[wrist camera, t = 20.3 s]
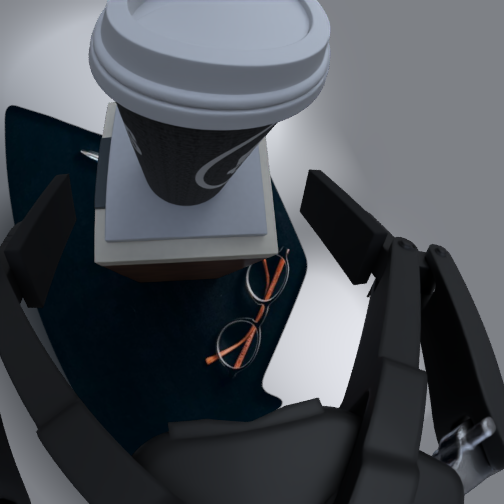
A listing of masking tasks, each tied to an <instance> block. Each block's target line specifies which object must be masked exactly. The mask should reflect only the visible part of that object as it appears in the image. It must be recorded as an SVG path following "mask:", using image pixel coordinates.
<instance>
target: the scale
mask: <svg viewBox="0 0 504 504" xmlns="http://www.w3.org/2000/svg"><path fill="white" fill-rule="evenodd" d="M94 208H95V263H97V264H99V265H101V266H111V265H133V264H154V263H174V262H194V261H214V260H233V259H252V258H269V257H271V256H273V255H276V254H278V245H277V235H276V225H275V216H274V206H273V197H272V188H271V179H270V171H269V162H268V153H267V144H266V136H265V137H264V138H263V139H262V141H261V142H260V143H259V144H258V145H257V146H256V148H255V149H254V150H253V151H252V152H251V154H250V155H249V156H248V157H247V158H246V160H245V161H244V162H243V163H242V164H241V166H240V167H239V168H238V169H237V171H236V172H235V173H234V174H233V175H232V177H231V178H230V179H229V180H228V182H227V183H226V184H225V185H224V187H223V188H222V189H221V190H220V192H219V193H218V194H217V195H215V196H214V197H213V198H211V199H210V200H208V201H206V202H204V203H201V204H198V205H193V206H179V205H174V204H171V203H168V202H166V201H164V200H163V199H161V198H160V197H158V196H157V195H156V194H155V193H154V192H153V191H152V189H151V188H150V187H149V185H148V183H147V181H146V178H145V176H144V174H143V171H142V169H141V166H140V164H139V161H138V159H137V156H136V154H135V151H134V149H133V146H132V144H131V141H130V139H129V136H128V133H127V131H126V128H125V126H124V123H123V120H122V118H121V115H120V112H119V110H118V107H117V104H116V102H113V103H112V102H111V103H108V107H107V112H106V118H105V124H104V130H103V137H102V138H101V142H100V149H99V157H98V166H97V176H96V188H95V202H94Z"/></svg>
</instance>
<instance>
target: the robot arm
mask: <svg viewBox="0 0 504 504" xmlns="http://www.w3.org/2000/svg"><path fill="white" fill-rule="evenodd" d="M300 212H301V214H302V215H303V216H304V218H305V219H306V220H307V222H308V223H309V224H310V225H311V227H312V228H313V230H314V231H315V232H316V234H317V235H318V236H319V238H320V239H321V240H322V242H323V243H324V244H325V246H326V247H327V249H328V250H329V251H330V253H331V254H332V255H333V257H334V258H335V260H336V261H337V262H338V264H339V265H340V267H341V268H342V269H343V271H344V272H345V274H346V275H347V277H348V278H349V279H350V281H351V282H352V284H353V285H358V284H365V283H367V281H368V279H369V277H370V275H371V273H372V274H373V275H374V277H375V278H376V279H375V281H374V283H373V285H372V287H371V289H370V291H369V293H368V295H367V297H369V296H370V300H369V305H368V309H367V314H366V319H365V323H364V327H363V331H362V336H361V340H360V344H359V347H358V351H357V355H356V359H355V363H354V366H353V370H352V373H351V376H350V380H349V383H348V387H347V390H346V393H345V396H344V399H343V402H342V404H341V405H340V407H339V408H335V407H328V406H322V405H321V403H320V400H319V398H315V399H311V400H307V401H303V402H299V403H295V404H291V405H286V406H284V407H282V408H280V409H277V410H275V411H273V412H271V413H269V414H267V415H265V416H263V417H261V418H259V419H256V420H254V421H252V422H234V421H222V420H212V419H203V420H193V421H183V422H169V423H168V427H169V431H168V432H165V433H162V434H160V435H158V436H156V437H154V438H152V439H150V440H149V441H147V442H146V443H144V444H143V445H142V446H141V447H139V448H138V449H137V450H136V451H135V453H134V454H133V455H132V456H131V455H130V454H128V453H127V452H126V451H125V450H124V449H123V447H122V446H121V445H120V444H119V443H118V442H117V441H116V440H115V439H114V438H113V437H112V436H111V435H110V434H109V433H108V432H107V431H106V429H105V428H104V427H103V426H102V425H101V424H100V423H99V421H98V420H97V419H96V418H95V417H94V416H93V414H92V413H91V412H90V411H89V410H88V408H87V407H86V406H85V405H84V403H83V402H82V401H81V400H80V398H79V397H78V396H77V394H76V393H75V392H74V391H73V389H72V388H71V386H70V385H69V384H68V383H67V381H66V380H65V378H64V377H63V375H62V374H61V373H60V371H59V370H58V368H57V367H56V365H55V364H54V362H53V361H52V359H51V358H50V356H49V355H48V353H47V351H46V350H45V348H44V347H43V345H42V343H41V342H40V340H39V338H38V337H37V335H36V333H35V331H34V330H33V328H32V326H31V325H30V323H29V321H28V319H27V317H26V315H25V313H24V311H23V309H22V308H21V306H20V303H21V300H22V298H24V300H25V302H26V304H27V307H28V308H43V306H44V303H45V300H46V297H47V294H48V291H49V288H50V285H51V282H52V279H53V276H54V273H55V271H56V268H57V265H58V263H59V260H60V257H61V255H62V252H63V250H64V247H65V245H66V242H67V240H68V238H69V235H70V233H71V231H72V229H73V226H74V224H75V222H76V215H75V209H74V204H73V198H72V192H71V185H70V178H69V174H63V175H56V176H55V178H54V179H53V180H52V181H51V183H50V184H49V185H48V186H47V188H46V189H45V190H44V192H43V193H42V194H41V196H40V197H39V198H38V200H37V201H36V202H35V204H34V205H33V207H32V208H31V209H30V211H29V212H28V214H27V215H26V217H25V218H24V220H23V221H22V222H19V223H17V224H16V225H15V226H14V227H13V228H12V229H11V230H10V232H9V233H8V235H7V237H6V238H5V239H4V241H3V243H2V244H1V246H0V356H1V359H2V361H3V363H4V366H5V368H6V370H7V372H8V374H9V376H10V378H11V380H12V382H13V384H14V386H15V388H16V390H17V392H18V394H19V396H20V398H21V400H22V402H23V403H24V405H25V407H26V408H27V410H28V412H29V414H30V416H31V417H32V419H33V421H34V422H35V424H36V426H37V428H38V430H37V435H38V437H39V439H40V441H41V442H42V444H43V446H44V447H45V448H46V450H47V451H48V453H49V454H50V455H51V457H52V458H53V460H54V461H55V462H56V464H57V465H58V467H59V468H60V469H61V471H62V472H63V473H64V474H65V476H66V477H67V478H68V479H69V481H70V482H71V483H72V484H73V486H74V487H75V488H76V489H77V490H78V491H79V493H80V494H81V495H82V496H83V497H84V498H85V499H86V501H87V502H88V503H89V504H464V495H465V494H467V493H468V492H469V491H471V490H472V489H474V488H475V487H476V486H477V485H479V484H480V483H481V482H482V481H484V480H485V479H486V478H488V477H489V476H491V475H493V474H495V473H497V472H499V471H501V470H502V469H504V384H503V380H502V377H501V374H500V370H499V367H498V364H497V361H496V358H495V355H494V352H493V349H492V346H491V343H490V341H489V338H488V335H487V333H486V330H485V327H484V325H483V322H482V320H481V318H480V315H479V313H478V311H477V308H476V306H475V304H474V301H473V299H472V297H471V295H470V293H469V291H468V288H467V286H466V284H465V282H464V280H463V278H462V276H461V274H460V272H459V270H458V268H457V266H456V264H455V263H454V261H453V259H452V257H451V255H450V254H449V252H448V251H446V249H445V248H443V247H442V246H438V245H434V244H432V245H430V246H429V248H428V250H427V252H420V251H418V249H417V247H416V246H415V245H414V244H413V243H412V242H411V241H409V240H407V239H405V238H402V237H394V236H392V234H391V233H390V232H389V231H387V230H386V229H385V227H384V226H383V225H381V223H379V221H377V220H376V219H375V218H374V217H373V216H372V215H371V214H370V213H368V212H367V211H365V210H364V209H363V208H362V207H361V206H360V205H359V204H358V203H356V202H355V201H354V200H353V199H352V198H351V197H350V196H349V195H348V194H347V193H346V192H345V191H344V190H342V189H341V188H340V187H339V186H338V185H337V184H336V183H334V182H333V181H332V180H331V179H330V178H329V177H328V176H326V175H325V174H324V173H323V172H322V171H321V170H309V172H308V176H307V181H306V186H305V190H304V195H303V199H302V203H301V208H300ZM434 289H435V290H434ZM433 291H434V292H433ZM420 343H421V347H422V353H423V357H424V363H425V369H426V372H425V371H423V370H420V369H419V355H420ZM427 382H428V387H429V394H430V400H431V409H432V417H433V422H434V429H435V433H436V437H437V441H438V444H439V448H438V450H436V451H435V452H434V453H433V455H432V456H430V455H428V454H426V453H424V452H422V451H420V450H419V446H420V441H421V435H422V428H423V421H424V413H425V404H426V393H427ZM0 504H31V502H30V499H29V496H28V493H27V491H26V488H25V486H24V483H23V481H22V478H21V476H20V473H19V471H18V468H17V466H16V463H15V460H14V458H13V455H12V452H11V449H10V446H9V443H8V439H7V436H6V433H5V429H4V426H3V422H2V418H1V414H0Z"/></svg>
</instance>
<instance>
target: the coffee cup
mask: <svg viewBox="0 0 504 504" xmlns="http://www.w3.org/2000/svg"><path fill="white" fill-rule="evenodd" d="M329 38H330V23H329V19H328V17H327V15H326V13H325V11H324V9H323V8H322V6H321V5H320V4H319V3H318V2H317V0H108V1H107V4H106V8H105V9H104V10H103V12H102V13H101V15H100V16H99V18H98V20H97V22H96V25H95V28H94V30H93V33H92V36H91V41H90V48H89V65H90V69H91V72H92V74H93V76H94V79H95V80H96V82H97V83H98V85H99V86H100V87H101V89H102V90H103V91H104V92H105V93H106V94H107V95H108V96H109V97H110V98H112V99H113V100H114V101H115V102H116V104H117V107H118V110H119V112H120V115H121V118H122V120H123V123H124V126H125V128H126V131H127V133H128V136H129V139H130V141H131V144H132V146H133V149H134V151H135V154H136V156H137V159H138V161H139V164H140V166H141V169H142V171H143V174H144V176H145V178H146V181H147V183H148V185H149V187H150V188H151V189H152V191H153V192H154V193H155V194H156V195H157V196H158V197H160V198H161V199H163V200H164V201H166V202H168V203H171V204H174V205H179V206H193V205H198V204H201V203H204V202H206V201H208V200H210V199H211V198H213V197H214V196H215V195H217V194H218V193H219V192H220V190H221V189H222V188H223V187H224V185H225V184H226V183H227V182H228V180H229V179H230V178H231V177H232V175H233V174H234V173H235V172H236V171H237V169H238V168H239V167H240V166H241V164H242V163H243V162H244V161H245V160H246V158H247V157H248V156H249V155H250V154H251V152H252V151H253V150H254V149H255V148H256V146H257V145H258V144H259V143H260V142H261V141H262V139H263V138H264V137H265V136H266V135H267V134H268V133H269V131H270V130H271V129H272V128H273V127H274V126H275V125H276V124H277V122H280V121H283V120H285V119H287V118H290V117H292V116H294V115H296V114H298V113H299V112H301V111H302V110H304V109H305V108H307V107H308V106H309V105H310V104H311V103H312V102H313V101H314V100H315V99H316V98H317V96H318V95H319V93H320V92H321V90H322V88H323V86H324V83H325V79H326V77H327V74H328V70H329V63H330V46H329Z"/></svg>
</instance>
